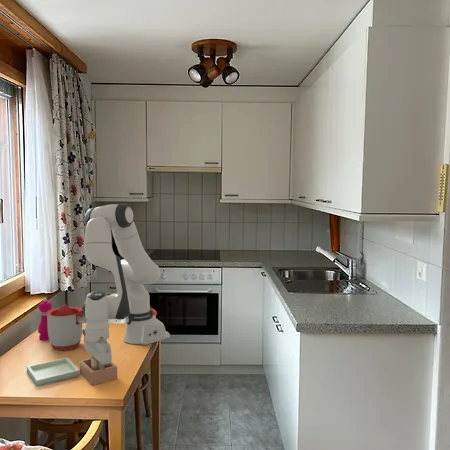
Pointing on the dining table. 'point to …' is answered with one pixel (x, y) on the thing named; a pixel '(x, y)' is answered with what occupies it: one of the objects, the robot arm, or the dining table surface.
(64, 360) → the tray
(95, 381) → the open square frame
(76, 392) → the dining table surface
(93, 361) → the beech cylinder
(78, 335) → the citrus juicer
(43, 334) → the pepper mill
